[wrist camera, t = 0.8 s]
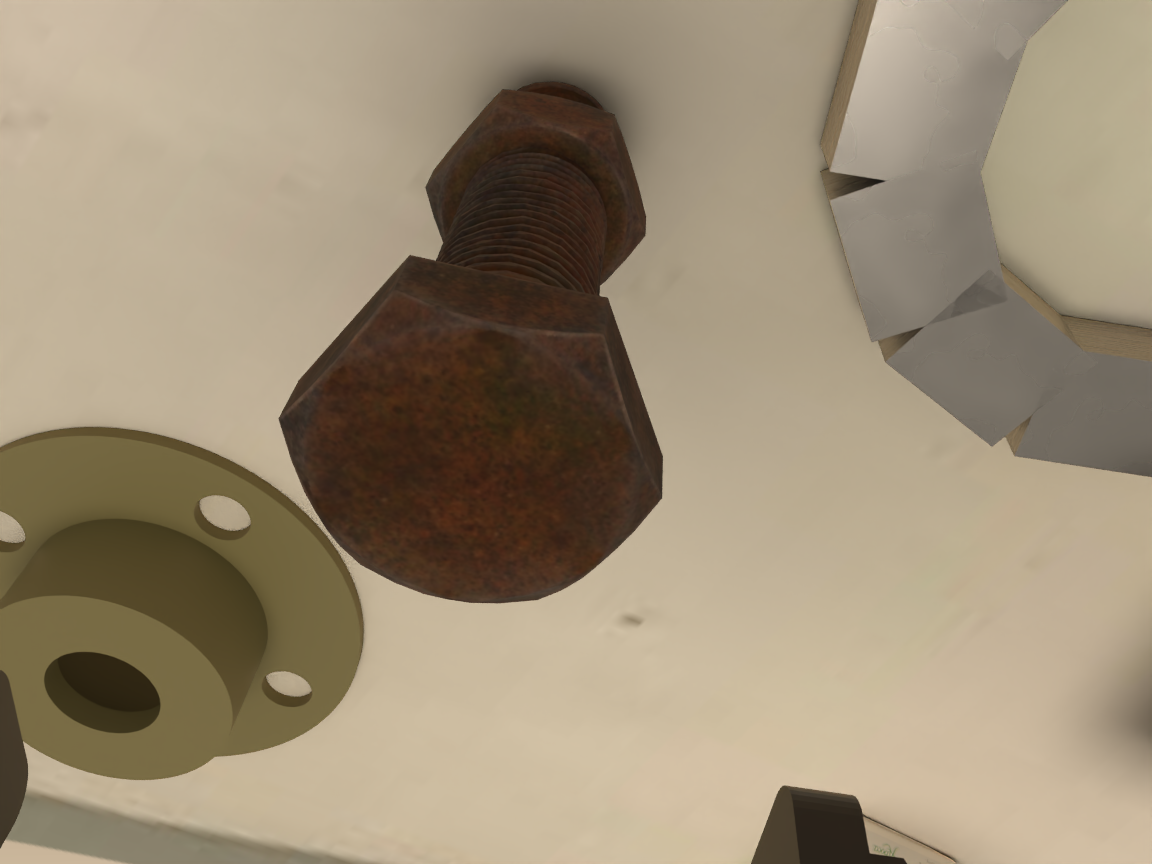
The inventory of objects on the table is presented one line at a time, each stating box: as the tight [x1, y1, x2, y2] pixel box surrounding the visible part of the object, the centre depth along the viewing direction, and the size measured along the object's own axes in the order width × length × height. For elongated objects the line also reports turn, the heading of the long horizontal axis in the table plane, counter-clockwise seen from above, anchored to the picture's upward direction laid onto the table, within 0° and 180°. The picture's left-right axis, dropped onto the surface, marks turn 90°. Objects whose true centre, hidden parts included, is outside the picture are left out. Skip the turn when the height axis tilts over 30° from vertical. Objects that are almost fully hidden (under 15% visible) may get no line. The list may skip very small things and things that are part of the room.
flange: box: [0, 427, 364, 780], centre depth 37 cm, size 5×15×15 cm
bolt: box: [279, 82, 663, 603], centre depth 22 cm, size 6×5×15 cm
